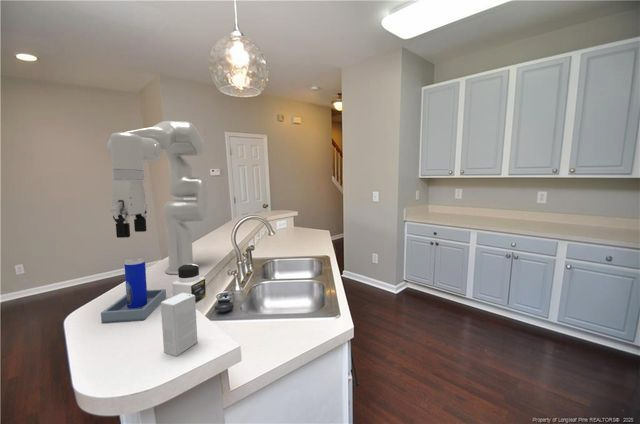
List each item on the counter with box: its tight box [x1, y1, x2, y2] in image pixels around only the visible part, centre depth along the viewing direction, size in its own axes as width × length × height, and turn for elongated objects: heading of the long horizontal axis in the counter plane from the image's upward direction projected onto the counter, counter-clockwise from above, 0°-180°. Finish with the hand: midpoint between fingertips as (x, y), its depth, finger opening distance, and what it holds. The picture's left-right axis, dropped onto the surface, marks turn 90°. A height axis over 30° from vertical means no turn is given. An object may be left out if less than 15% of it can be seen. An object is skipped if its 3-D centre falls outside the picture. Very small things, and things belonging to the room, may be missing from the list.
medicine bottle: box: [171, 263, 207, 305], centre depth 87 cm, size 7×7×12 cm
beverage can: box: [123, 256, 148, 310], centre depth 81 cm, size 5×5×15 cm
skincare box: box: [160, 293, 198, 357], centre depth 62 cm, size 6×4×12 cm
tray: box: [100, 288, 167, 324], centre depth 82 cm, size 16×11×3 cm
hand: (132, 234), depth 80 cm, fingers open, 9 cm apart
